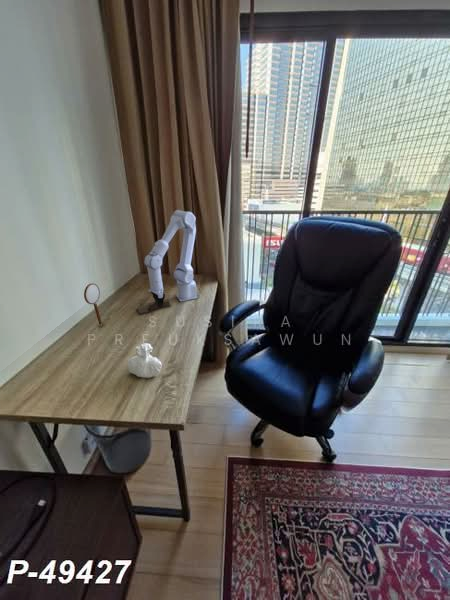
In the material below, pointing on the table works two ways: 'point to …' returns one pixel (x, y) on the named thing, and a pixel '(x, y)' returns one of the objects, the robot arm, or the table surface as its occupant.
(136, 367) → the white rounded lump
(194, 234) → the robot arm
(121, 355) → the table surface
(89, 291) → the magnifying glass
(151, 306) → the spatula
